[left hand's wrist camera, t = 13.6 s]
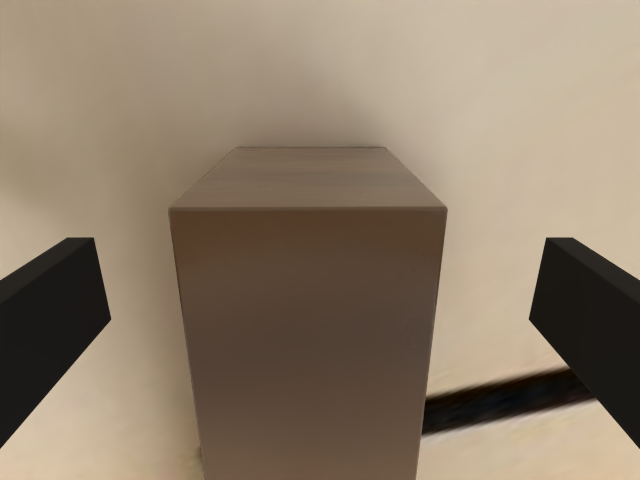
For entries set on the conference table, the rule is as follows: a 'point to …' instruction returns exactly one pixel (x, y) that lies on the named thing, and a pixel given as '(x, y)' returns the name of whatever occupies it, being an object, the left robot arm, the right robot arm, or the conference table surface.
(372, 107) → the conference table surface
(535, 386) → the conference table surface
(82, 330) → the left robot arm
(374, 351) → the bar
